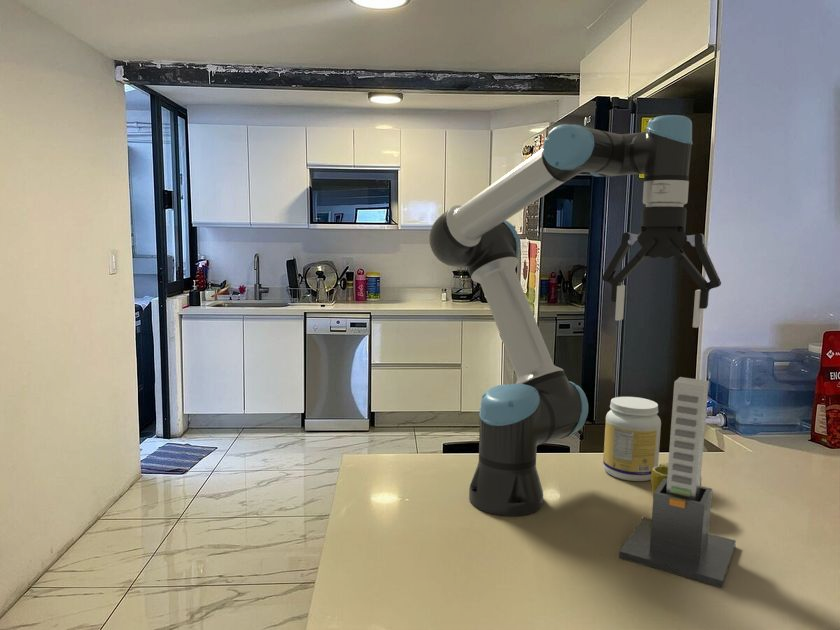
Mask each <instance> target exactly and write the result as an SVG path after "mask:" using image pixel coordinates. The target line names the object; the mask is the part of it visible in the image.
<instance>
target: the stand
mask: <svg viewBox="0 0 840 630" xmlns="http://www.w3.org/2000/svg"><path fill="white" fill-rule="evenodd" d="M666 489H667V479H665V478H664V479H663V480H662V482H661V483H660V485H659V486H658V488H657V489H656V490H655V492H654V495H653V494H652V509H651V510H652V511H651V512H652V513H651V518H649V517H646V516H642V518H641V519H640V520H639V522H638V524H637V525H636V527H635V528H634V530H633V531H632V533H631V534H630V536H629V537H628V539H627V540H626V542H625V543H624V544H623V546H622V547H621V549H620V551H619V559H623V560H626V561H629V562H632V563H635V564H638V565H642V566H646V567H648V568H652V569H656V570H660V571H663V572H666V573H670V574H673V575H676V576H681V577H683V578H687V579H690V580H693V581H697V582H700V583H704V584H706V585H710V586H713V587H716V588H717V587H718V588H720V589H723V587H724V584H725V581H726V578H727V575H728V571H729V567H730V564H731V562H732V558H733V554H734V552H735V548H736V540H735V539H732V538H728V537H724V536H720V535H716V534H712V533H709V531H710V529H709V528H710V522H711V521H710V519H711V518H710V517H711V508H712V507H711V505H712V493H713V488H710V487H706V486H702V485H701V486H700V495H699V502H698V501H694V500H690V499H685V498H681V497H677V496H672V495H668V494H666Z"/></svg>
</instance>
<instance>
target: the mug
mask: <svg viewBox="0 0 840 630" xmlns="http://www.w3.org/2000/svg"><path fill="white" fill-rule="evenodd" d="M667 475H668V463H667V462H665V463H660V464H658V466H657V467H654V468H653V469H652V472H651V480H650V482H651V483H650V484H651V493H652V496H653V495H654V492H655V490H656V489H657V488H658V486H659V485H660V483H661V482H662V480H663V479H664V478H665V479H667ZM700 486H702V482H701V483H700Z"/></svg>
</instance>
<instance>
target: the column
mask: <svg viewBox="0 0 840 630" xmlns="http://www.w3.org/2000/svg"><path fill="white" fill-rule="evenodd" d="M673 383H674V384H673V393H672V394H673V395H672V398H673V399H672V409H671V423H670V435H669V437H670V438H669V447H668V449H669V450H668V451H669V452H668V475H667V489H666V494H668V495H672V496H677V497H681V498H685V499H690V500H694V501H698V502H699V495H700V483H701V484H702V471H703V469H702V467H703V456H704V455H703V454H704V446H705V445H704V444H705V443H704V442H705V432H706V422H707V420H706V417H707V407H708V405H707V404H708V392H709V383H710V382H709V380H707V379H706V380H704V379H698V378H691V377H684V376H679V377H678V378H677V379H676V380H674V382H673Z"/></svg>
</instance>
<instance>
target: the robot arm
mask: <svg viewBox="0 0 840 630" xmlns="http://www.w3.org/2000/svg"><path fill="white" fill-rule="evenodd" d="M645 129H646V130H645V131H640V132H635V133H633V132H632V133H623V134H621V133H619V134H618V133H615V132H611V131H605V130H600V129H595V128H591V127H588V126H583V125H579V124H573V123H572V124H566V123H564V124H559V125H557V126H555V127H553V128H552V129H551V130H550V131H549V132H548V134H547V137H546V138H545V139H544V141H543V147H542V148H541V149H540V150H538V151H536V152H535V153H534V154H533V155H531V156H529V157H528V158H527V159H525V161H523V162H522V163H519V165H517V166H515V168H513V169H511V170H510V171H509V172H508V173H506V174H505V175H503V176H502V177H501V178H499V179H497V180H496V181H495V182H493V183H492V184H491V185H489V186H488V187H487V188H485V189H483V190H482V191H481V192H479V193H478V194H476V195H475V196H473V197H472V198H471V199H469V200H468V201H467V202H465V203H464V204H463V205H461V204H460V205H453V206H452V207H450V208H449V209H447V210H446V211H444V212H443V213H442V214H441V215H440V216H439V217H437V219H436V220H435V222H433V224H432V226H431V229H430V231H429V232H430V233H429V240H428V241H429V246H430V249H431V251H432V253H433V255H434V256H435V258H436V259H437V260H438V261H440V262H441V263H442V264H444V265H447V266H448V267H450V266H451V267H458V268H459V267H460V268H464V267H466V268H467V271H468V274H469V276H470V279H471V281H472V282H475V283H478V284H480V286H481V289H482V292H483V294H484V298H485V299H486V302H487V304H488V306H489V310H490V313H491V316H492V317H493V319H494V321H495V322H494V323H495V325H496V327H497V330H498V333H499V336H500V338H501V340H502V343H503V346H504V348H505V350H506V352H507V356H508V358H509V361H510V363H511V366H512V369H513V371H514V374H515V376H516V378H517V379H516V382H515V383H510V384H507V383H506V384H505V383H504V384H503V383H502V384H499V385H495V386H492V387H490V388H488V389H486V390H485V392H484V393H483V394H482V397H481V399H480V408H479V411H478V412H479V413H478V415H479V430H478V431H479V433H478V434H479V439H478V440H479V443H478V463H477V466H476V468H475V471H474V474H473V477H472V479H471V482H470V484H469V489H468V500H469V502H470V503H471V504H472V505H473V506H474V507H475V508H477V509H479V510H481V511H482V512H486V513H489V514H493V515H496V516H497V515H499V516H506V517H507V516H508V517H519V516H526V515H527V516H528V515H530V514H533V513H536V512H538V511H539V510H541V508H542V507H543V505H544V491H543V487H542V483H541V480H540V476H539V473H538V470H537V447H538V446H539V445H543V444H545V443H546V444H547V443H550V442H553V441H556V440H559V439H560V440H561V439H565V438H567V437H570V436H571V435H573V434H575V433H577V432H579V431H580V430H581V429H582V428H583V427H584V425H585V424H586V420H587V418H588V414H589V402H588V398H587V396H586V393H585V392H584V390H583V389H582V387H580V386H579V385H578V384H576V383H575V382H572V381H569V380H568V377H567V375H566V372H565V370H564V369H563V368H561V367H559V366H556V365H555V364H554V361H553V360H552V358H551V354H550V352H549V350H548V347H547V345H546V343H545V340H544V338H543V335H542V332H541V331H540V328H539V326H538V323H537V321H536V318H535V316H534V315H535V314H533V311H532V308H531V306H530V304H529V301H528V299H527V296H526V293H525V292H524V288H523V286H522V284H521V282H520V279H519V277H518V274H517V271H516V268H517V266H518V264H519V259H518V255H519V252H520V249H519V247H520V246H521V243H520V237H519V234H518V231H517V229H516V227H514V225H512V223H511V222H509V221H508V219H510V218H511V217H513V216H515V215H516V214H518V213H519V212H521V211H522V210H524V209H525V208H527V207H528V206H530V205H532V204H534V202H536V201H537V200H539V199H540V198H542V197H544V196H546V195H547V194H549V193H550V192H552V191H554V190H555V189H556V188H558V187H559V186H561V185H562V184H564V183H566V182H567V181H569V180H571V179H572V178H574V177H576V176H577V175H578V174H580V173H584V172H585V173H589V174H590V175H591V176H593V177H604V178H605V177H606V178H611V177H617V176H630V175H631V176H632V175H644V176H643V177H644V179H643V190H642V191H643V192H642V204H643V205H645V206H644V207H643V208H642V209H641V222H640V231H639V233H638V234H636V233H631V232H623V233H622V235H621V236H622V237H621V241H620V244H619V247H618V249H617V250H616V252H615V254H614V256H613V257H612V259H611V260H610V263H609V264H608V266H607V267H606V269H605V272H604V273H603V275H602V277H601V280H602V281H603V282H607V283H609V284H610V285H611V294H610V295H611V297H610V300H611V302H612V303H615V317H614V319H615V320H614V321H622V320H624V310H625V295H626V292H625V290H626V285H625V284H622V282H623V281H624V280H626V279H627V278H628V276H629V275H631V273H633V271H634V270H635V269H636V268H637V267H638V266H639V265H640V264H641V263H642V262H643V261H644V260H645V259H647V257H649V258H651V259H657V258H662V259H672V258H675V259H676V260H677V262H679V263H680V265H681V266H682V267H683V269H684V270H685V271H686V272H687V274H688V275H689V276H690V278H691V279H692V280H693V282H694V283H695V284H696V285H697V286H698V287H699V289H695V291H694V304H693V305H694V306H693V316H692V317H693V318H692V328H696V329H697V328H699V327H700V326H701V318H702V317H701V314H702V309H703V310H706V309H707V308H708V306H709V297H710V291H711V290H712V289H716V288H718V287H720V286H721V285H722V281H721V279H720V277H719V274H718V272H717V270H716V268H715V266H714V264H713V262H712V260H711V257H710V255H709V253H708V250H707V248H706V245H705V241H706V239H705V235H704V233H696V234H691V235H690V234H689V235H688V234H687V232H686V227H687V212H688V210H687V209H686V207H684V206H685V205H686V204H688V200H689V186H690V185H689V184H690V176H689V175H690V166H691V156H692V145H693V144H694V143H693V122H692V120H691V118H690V117H687V116H685V115H679V114H677V115H676V114H675V115H673V114H672V115H670V114H669V115H660V116H656V117H652V118H650V119H649V120H648V122H647V126H646V128H645ZM636 241H637V242H638V243H639V245H640V247H641V248H640V250H639V251H638V252H636V253H635V256H634V257H633V258H631V260H630V261H629V262H628V263H627V264H626V265H625V266H624V267H623V268H622V269H621V270H620V271H619V272H618V273H617V274H616V272H617V271H618V269H619V267H620V265H621V264H622V262H623V260H624V258H625V256H626V255H627V253H628V252H629V250H630V249H631V248H630V247H631V246H633V245H635V243H636ZM688 242H689V244H690V245H691V247H695V251H696V253H697V255H698V258H699V260H700V262H701V265H702V266H703V267H702V268H703V269H704V271H705V273H706V275H707V277H708V280H709V281H707V280H706V279H705V278H704V276H703V275H702V273H701V272H700V271H699V270H698V269H697V268H696V266H695V265H694V264H693V262H692V261H691V260H690V259H689V258H688V256H687V254H686V253H685V252H684V251H683V248H684V247H685V245H686V244H687V243H688ZM615 274H616V276H615Z"/></svg>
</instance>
